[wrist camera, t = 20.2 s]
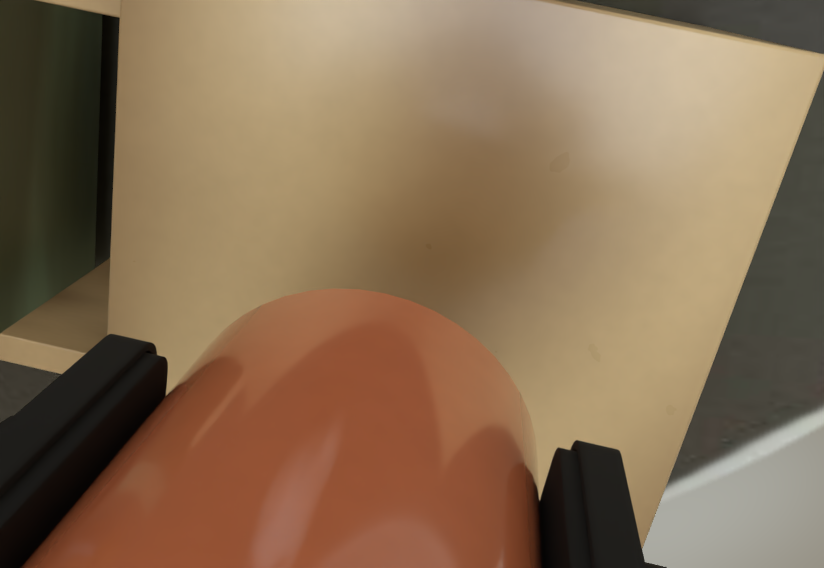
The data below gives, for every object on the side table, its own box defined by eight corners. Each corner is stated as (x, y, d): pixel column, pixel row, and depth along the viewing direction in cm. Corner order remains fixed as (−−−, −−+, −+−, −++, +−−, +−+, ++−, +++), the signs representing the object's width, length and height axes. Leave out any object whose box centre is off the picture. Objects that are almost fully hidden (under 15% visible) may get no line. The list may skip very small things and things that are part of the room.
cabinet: (229, 307, 29) (101, 454, 20) (268, -62, 24) (121, -88, 15) (594, 388, 28) (632, 579, 19) (709, 27, 23) (831, 56, 14)
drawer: (-89, 232, 28) (-298, 319, 21) (-111, -117, 24) (-385, -160, 16) (404, 342, 27) (364, 473, 20) (473, 2, 23) (455, 11, 16)
